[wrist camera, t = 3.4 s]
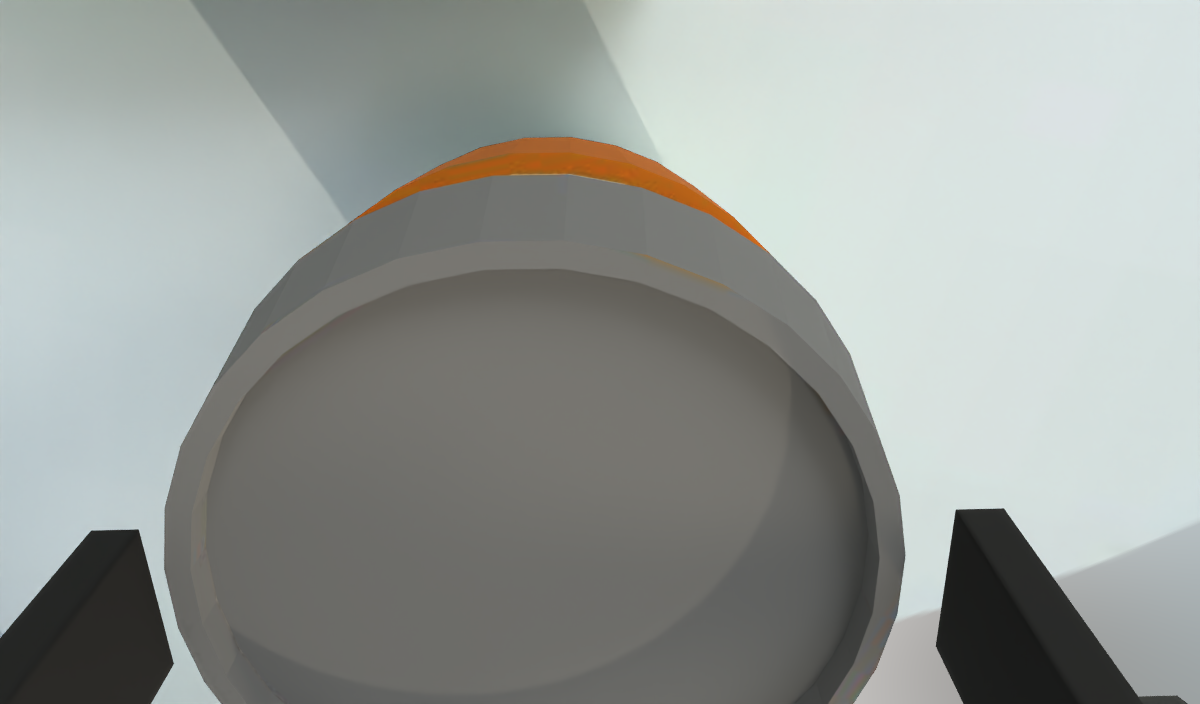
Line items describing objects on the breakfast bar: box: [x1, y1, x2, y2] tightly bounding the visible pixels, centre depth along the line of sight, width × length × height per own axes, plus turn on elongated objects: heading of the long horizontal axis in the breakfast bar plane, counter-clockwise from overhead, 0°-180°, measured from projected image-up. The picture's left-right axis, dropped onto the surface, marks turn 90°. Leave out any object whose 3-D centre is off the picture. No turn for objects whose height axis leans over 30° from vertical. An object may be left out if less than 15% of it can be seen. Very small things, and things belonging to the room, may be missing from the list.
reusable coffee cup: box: [164, 137, 905, 704], centre depth 22 cm, size 13×12×15 cm
